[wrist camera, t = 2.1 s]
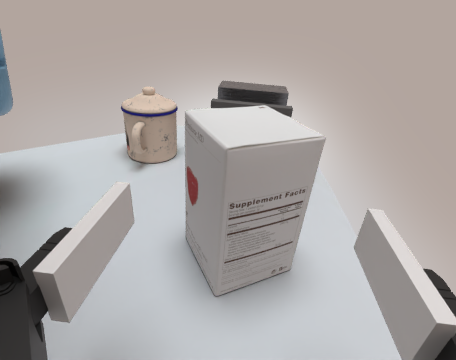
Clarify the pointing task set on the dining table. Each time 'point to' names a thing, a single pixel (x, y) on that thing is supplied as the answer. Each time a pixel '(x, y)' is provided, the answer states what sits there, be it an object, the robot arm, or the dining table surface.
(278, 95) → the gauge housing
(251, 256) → the supplement box
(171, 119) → the teacup with lid
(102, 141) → the dining table surface
